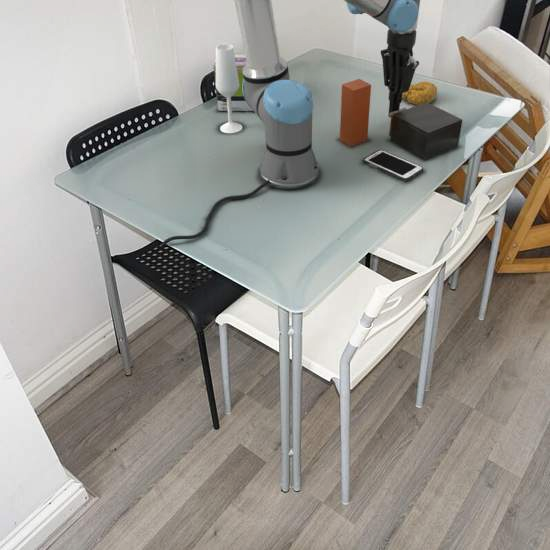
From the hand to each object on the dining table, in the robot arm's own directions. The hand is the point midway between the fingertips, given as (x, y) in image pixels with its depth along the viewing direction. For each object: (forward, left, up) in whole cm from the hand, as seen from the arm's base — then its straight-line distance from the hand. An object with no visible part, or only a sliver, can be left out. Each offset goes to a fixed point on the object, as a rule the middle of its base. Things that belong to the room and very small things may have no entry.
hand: (393, 112), depth 179 cm
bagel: (+19, +9, -5) cm, 21 cm away
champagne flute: (-38, +28, -5) cm, 48 cm away
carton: (-14, 0, -4) cm, 15 cm away
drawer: (0, -9, -3) cm, 10 cm away
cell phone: (-15, -17, -4) cm, 24 cm away
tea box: (-27, +39, -5) cm, 48 cm away
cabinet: (0, -13, -4) cm, 14 cm away
